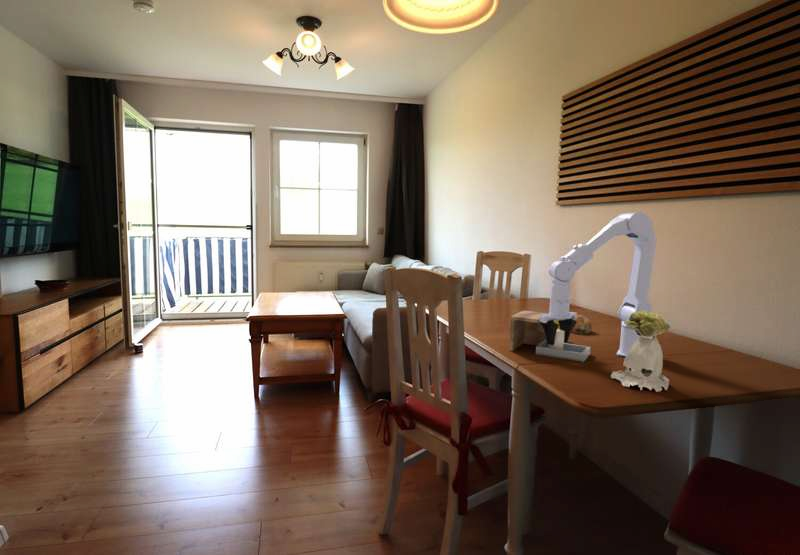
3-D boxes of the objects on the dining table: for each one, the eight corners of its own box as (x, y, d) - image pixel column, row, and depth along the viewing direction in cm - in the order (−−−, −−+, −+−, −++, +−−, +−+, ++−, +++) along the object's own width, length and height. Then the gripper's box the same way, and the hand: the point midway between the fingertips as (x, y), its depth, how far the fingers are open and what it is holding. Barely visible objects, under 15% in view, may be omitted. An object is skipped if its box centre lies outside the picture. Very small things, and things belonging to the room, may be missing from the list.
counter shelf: (546, 346, 148) (549, 313, 146) (536, 355, 137) (538, 319, 136) (521, 342, 152) (523, 310, 151) (509, 350, 142) (511, 316, 140)
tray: (589, 354, 139) (590, 346, 139) (583, 362, 131) (584, 354, 130) (544, 347, 147) (544, 340, 146) (535, 354, 138) (536, 346, 138)
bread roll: (591, 340, 172) (594, 320, 174) (588, 334, 164) (591, 313, 166) (564, 336, 177) (568, 317, 179) (560, 330, 169) (563, 309, 171)
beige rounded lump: (555, 348, 143) (557, 328, 142) (566, 352, 139) (567, 331, 138) (545, 349, 141) (546, 329, 140) (555, 353, 137) (556, 332, 136)
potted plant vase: (647, 374, 121) (653, 307, 119) (680, 391, 108) (687, 316, 106) (605, 374, 120) (610, 307, 118) (633, 391, 107) (639, 316, 105)
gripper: (554, 303, 131) (551, 349, 132) (586, 300, 138) (583, 343, 140) (535, 300, 137) (533, 343, 138) (567, 297, 144) (564, 338, 146)
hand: (557, 343), depth 139 cm, fingers open, 5 cm apart
